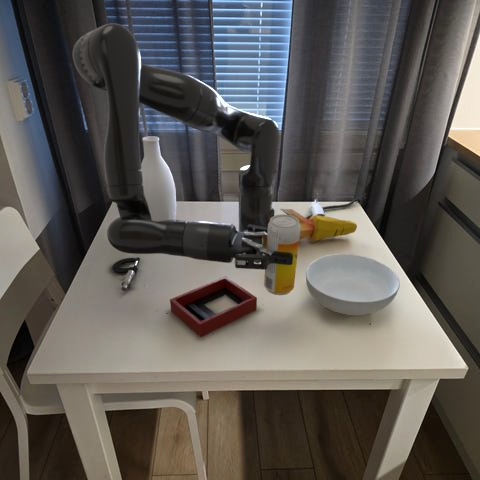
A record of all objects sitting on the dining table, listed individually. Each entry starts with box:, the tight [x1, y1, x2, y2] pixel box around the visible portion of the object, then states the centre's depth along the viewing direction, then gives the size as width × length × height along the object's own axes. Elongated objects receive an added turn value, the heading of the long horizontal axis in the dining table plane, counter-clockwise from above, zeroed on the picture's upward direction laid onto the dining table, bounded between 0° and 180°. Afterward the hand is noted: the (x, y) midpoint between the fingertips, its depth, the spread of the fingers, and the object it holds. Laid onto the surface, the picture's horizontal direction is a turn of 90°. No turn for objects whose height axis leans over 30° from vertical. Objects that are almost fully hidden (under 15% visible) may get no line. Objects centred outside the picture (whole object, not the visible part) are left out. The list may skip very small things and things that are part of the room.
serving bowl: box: [305, 253, 401, 316], centre depth 103 cm, size 21×21×7 cm
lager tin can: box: [263, 213, 301, 296], centre depth 87 cm, size 6×6×15 cm
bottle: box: [141, 135, 177, 221], centre depth 129 cm, size 11×11×25 cm
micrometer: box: [111, 256, 141, 292], centre depth 113 cm, size 15×7×2 cm, turn 177°
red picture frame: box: [169, 276, 258, 338], centre depth 101 cm, size 16×12×4 cm
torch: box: [279, 208, 358, 243], centre depth 128 cm, size 8×8×25 cm
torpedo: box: [308, 192, 326, 217], centre depth 139 cm, size 18×5×6 cm, turn 0°
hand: (294, 250), depth 86 cm, fingers closed on lager tin can, 6 cm apart
